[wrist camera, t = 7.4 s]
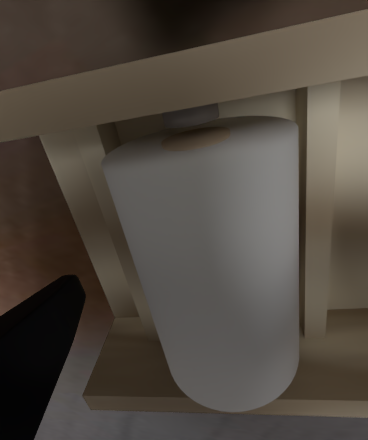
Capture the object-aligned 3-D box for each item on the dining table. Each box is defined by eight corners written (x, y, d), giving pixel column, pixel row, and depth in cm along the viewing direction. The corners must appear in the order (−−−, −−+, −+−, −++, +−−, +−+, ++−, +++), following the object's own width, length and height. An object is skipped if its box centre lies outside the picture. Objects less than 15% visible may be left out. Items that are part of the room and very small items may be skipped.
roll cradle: (356, 304, 14) (415, 418, 10) (126, 313, 17) (90, 409, 12) (392, 10, 9) (572, -37, 4) (39, 87, 11) (-88, 110, 7)
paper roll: (286, 296, 13) (315, 416, 9) (177, 301, 14) (156, 411, 10) (279, 104, 9) (327, 148, 5) (131, 130, 10) (62, 185, 6)
